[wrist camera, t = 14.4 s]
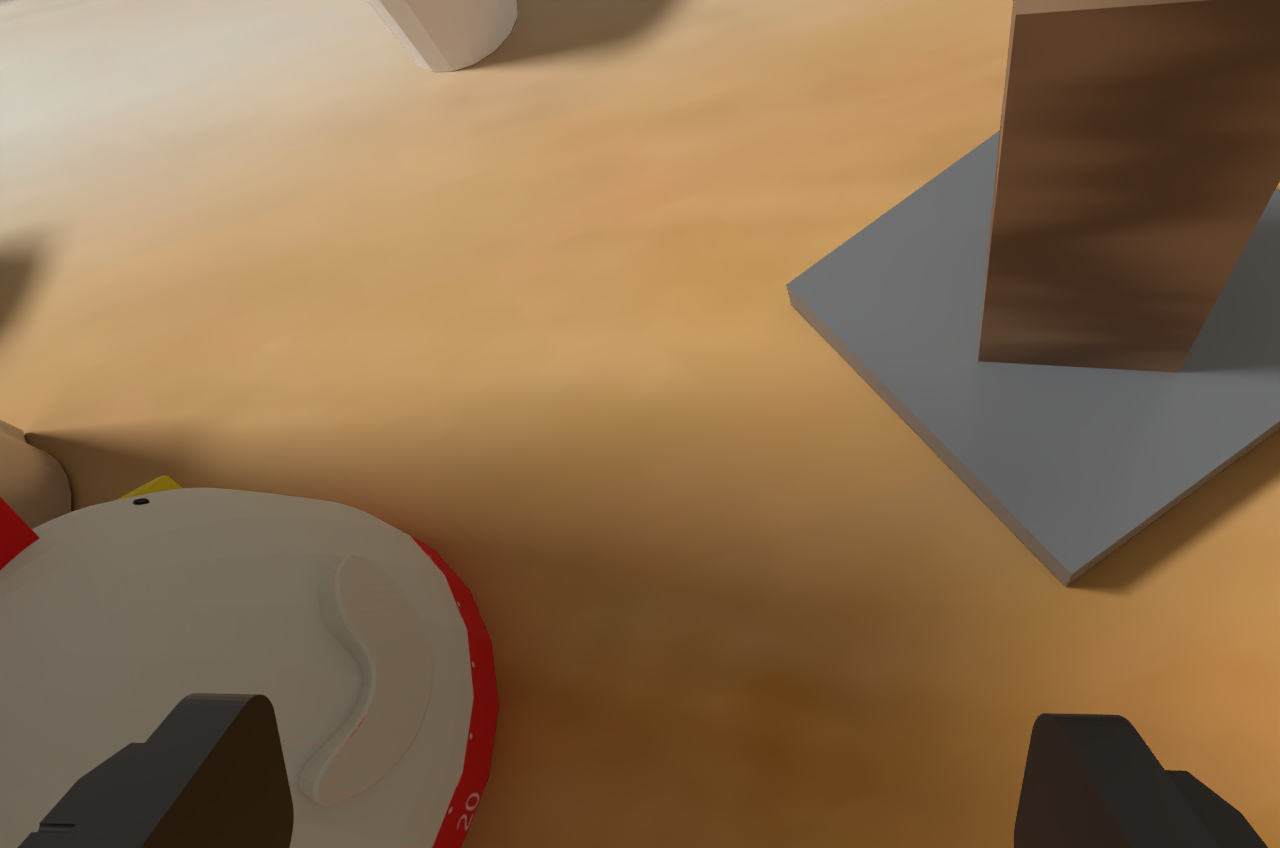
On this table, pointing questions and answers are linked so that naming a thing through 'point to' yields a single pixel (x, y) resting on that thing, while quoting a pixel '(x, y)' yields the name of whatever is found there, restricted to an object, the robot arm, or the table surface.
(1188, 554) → the table surface
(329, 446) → the table surface
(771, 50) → the table surface
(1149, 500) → the slate tile
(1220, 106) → the walnut block
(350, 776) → the kitchen timer
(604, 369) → the table surface
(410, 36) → the white cup
